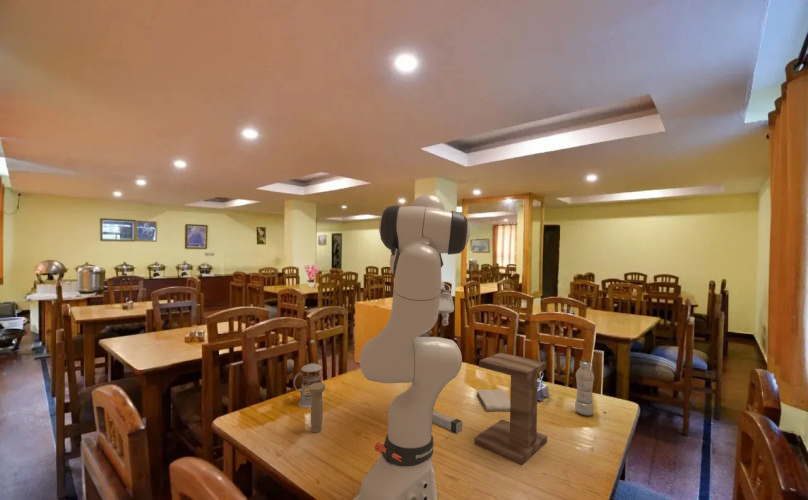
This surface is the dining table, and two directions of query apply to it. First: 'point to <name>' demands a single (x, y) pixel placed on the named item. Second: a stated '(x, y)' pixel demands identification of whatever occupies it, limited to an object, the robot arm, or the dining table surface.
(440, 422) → the grey square bar
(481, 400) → the washcloth
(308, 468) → the dining table surface
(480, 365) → the mount stand
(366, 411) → the dining table surface
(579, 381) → the plastic bottle
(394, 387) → the dining table surface
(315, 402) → the handle
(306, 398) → the french press
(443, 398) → the dining table surface
